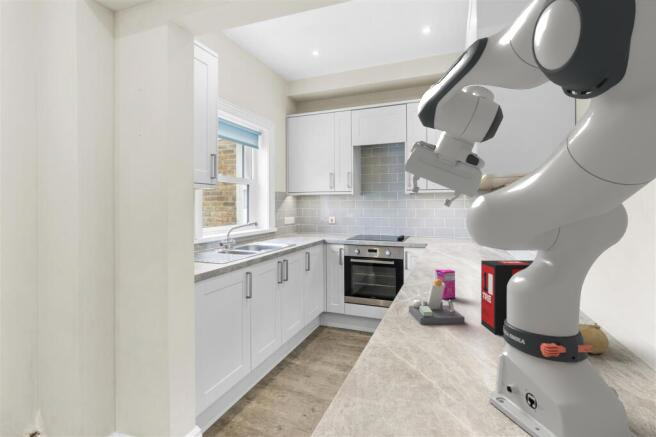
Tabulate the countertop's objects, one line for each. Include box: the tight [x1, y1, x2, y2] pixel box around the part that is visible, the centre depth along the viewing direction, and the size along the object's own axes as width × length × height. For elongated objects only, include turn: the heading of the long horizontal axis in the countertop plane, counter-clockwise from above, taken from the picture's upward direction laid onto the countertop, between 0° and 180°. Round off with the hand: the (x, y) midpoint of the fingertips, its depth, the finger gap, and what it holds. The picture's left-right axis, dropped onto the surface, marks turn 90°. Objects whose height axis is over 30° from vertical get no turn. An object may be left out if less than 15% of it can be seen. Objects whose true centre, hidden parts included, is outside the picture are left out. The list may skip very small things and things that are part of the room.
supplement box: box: [434, 268, 456, 301], centre depth 131 cm, size 6×6×12 cm
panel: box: [408, 300, 466, 325], centre depth 107 cm, size 13×14×5 cm
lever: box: [426, 279, 445, 309], centre depth 106 cm, size 2×4×12 cm, turn 92°
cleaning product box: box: [480, 259, 535, 336], centre depth 95 cm, size 16×9×20 cm, turn 88°
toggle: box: [448, 299, 457, 313], centre depth 105 cm, size 1×2×4 cm, turn 92°
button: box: [412, 299, 423, 308], centre depth 111 cm, size 3×3×2 cm
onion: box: [579, 322, 610, 355], centre depth 81 cm, size 8×8×7 cm
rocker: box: [419, 305, 432, 316], centre depth 103 cm, size 4×3×1 cm
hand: (430, 199), depth 89 cm, fingers open, 8 cm apart
